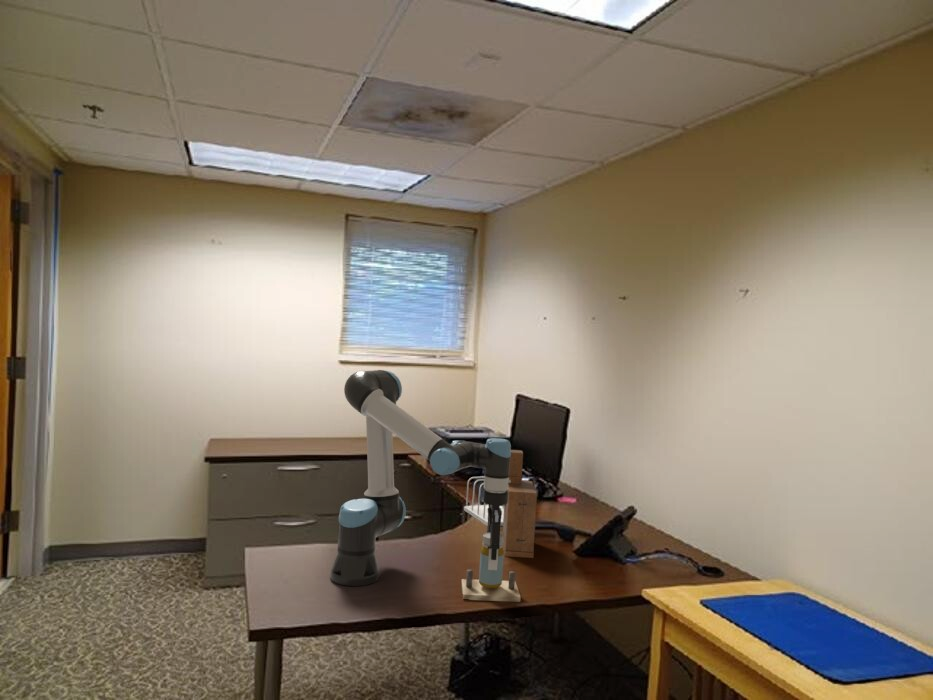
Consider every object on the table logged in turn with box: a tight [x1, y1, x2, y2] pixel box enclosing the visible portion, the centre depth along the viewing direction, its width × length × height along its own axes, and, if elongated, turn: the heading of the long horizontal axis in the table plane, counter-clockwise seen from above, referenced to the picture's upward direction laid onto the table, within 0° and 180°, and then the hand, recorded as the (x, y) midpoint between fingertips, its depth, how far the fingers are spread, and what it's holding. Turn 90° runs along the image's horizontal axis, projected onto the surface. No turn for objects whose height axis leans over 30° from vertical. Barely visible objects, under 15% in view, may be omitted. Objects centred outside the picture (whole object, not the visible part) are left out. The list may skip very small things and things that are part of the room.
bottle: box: [478, 532, 505, 588], centre depth 193 cm, size 7×7×15 cm
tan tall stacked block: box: [502, 449, 538, 559], centre depth 236 cm, size 19×14×35 cm
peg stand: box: [460, 568, 522, 603], centre depth 193 cm, size 17×12×6 cm
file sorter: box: [463, 475, 504, 527], centre depth 276 cm, size 25×17×16 cm
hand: (491, 564), depth 193 cm, fingers closed on bottle, 7 cm apart
